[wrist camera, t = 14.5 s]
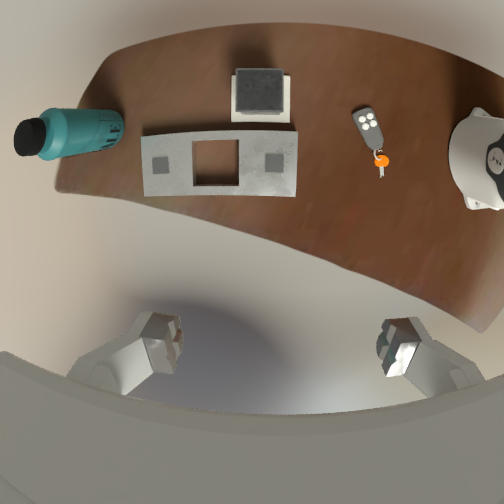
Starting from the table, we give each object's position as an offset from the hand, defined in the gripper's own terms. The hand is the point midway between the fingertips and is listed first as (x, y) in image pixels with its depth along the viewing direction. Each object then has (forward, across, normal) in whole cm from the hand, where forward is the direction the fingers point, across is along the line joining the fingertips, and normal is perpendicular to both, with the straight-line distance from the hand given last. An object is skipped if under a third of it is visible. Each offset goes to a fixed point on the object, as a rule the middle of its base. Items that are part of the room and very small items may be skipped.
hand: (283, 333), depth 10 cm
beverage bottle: (+31, +25, -10) cm, 41 cm away
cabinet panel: (+31, +8, -4) cm, 32 cm away
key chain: (+32, -15, -6) cm, 36 cm away
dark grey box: (+31, +2, -13) cm, 33 cm away
